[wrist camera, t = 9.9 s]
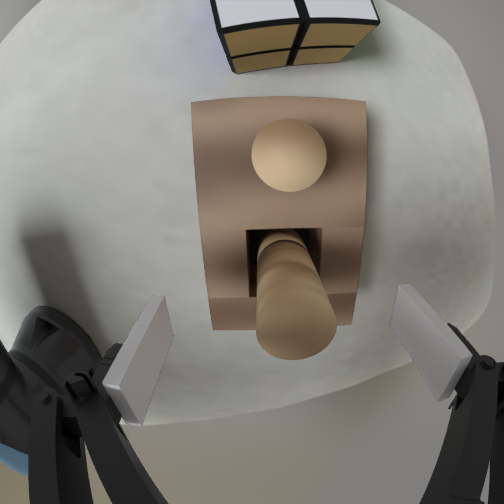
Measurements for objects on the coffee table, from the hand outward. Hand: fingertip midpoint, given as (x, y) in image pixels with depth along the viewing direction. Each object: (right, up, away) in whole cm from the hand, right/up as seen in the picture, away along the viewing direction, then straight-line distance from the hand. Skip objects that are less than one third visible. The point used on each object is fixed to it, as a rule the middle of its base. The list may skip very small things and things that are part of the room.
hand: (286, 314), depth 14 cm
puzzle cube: (0, +24, +4) cm, 25 cm away
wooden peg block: (+1, +7, +10) cm, 13 cm away
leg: (+1, +5, +12) cm, 13 cm away
